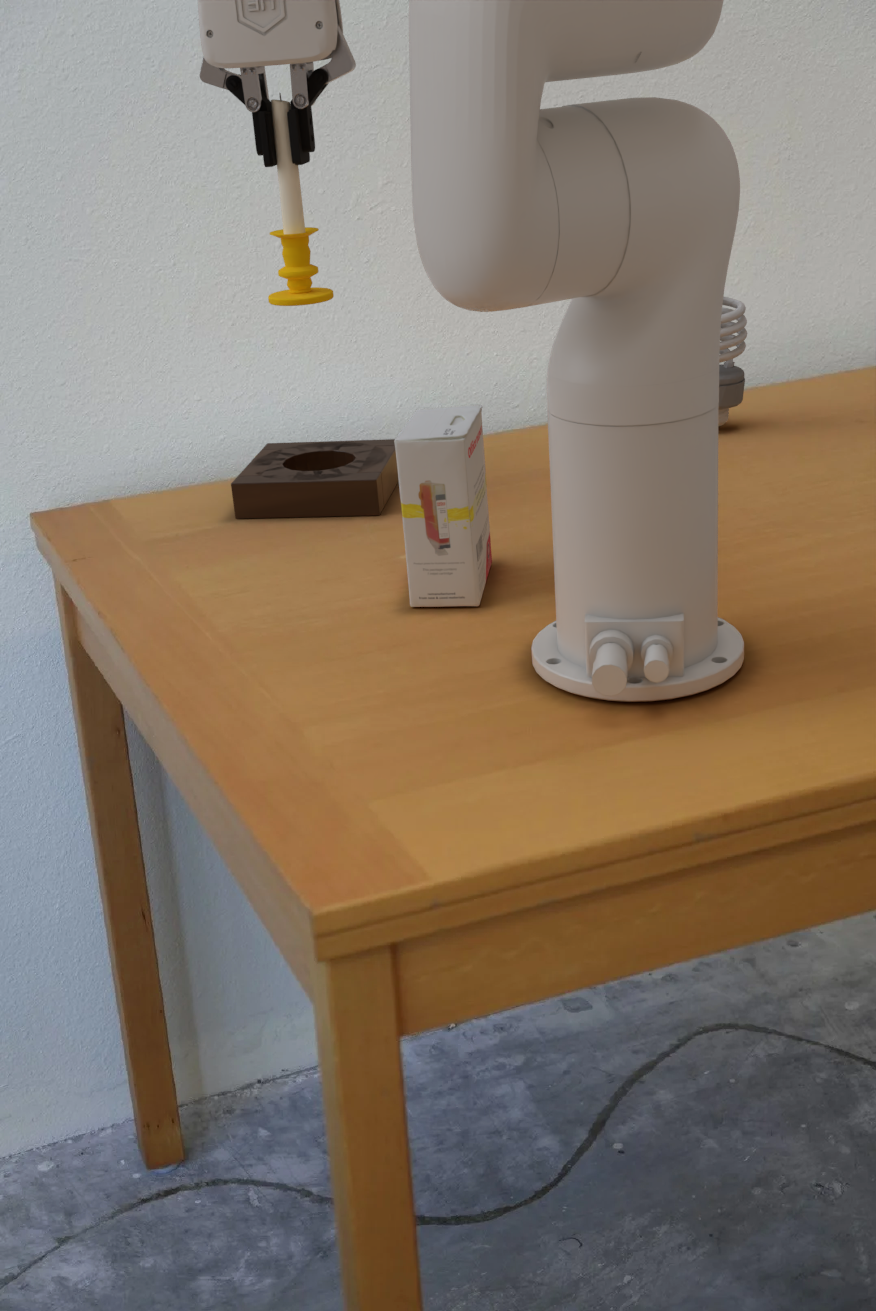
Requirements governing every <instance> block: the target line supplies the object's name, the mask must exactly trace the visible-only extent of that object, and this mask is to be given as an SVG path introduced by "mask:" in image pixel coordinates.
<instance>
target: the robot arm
mask: <svg viewBox="0 0 876 1311" xmlns="http://www.w3.org/2000/svg"><path fill="white" fill-rule="evenodd" d="M723 6H724V0H408V42H409V43H408V59H409V60H408V61H409V62H408V64H409V66H408V67H409V112H410V114H409V118H410V120H409V121H410V172H411V173H410V174H411V175H410V177H411V178H410V179H411V180H410V181H411V204H412V219H413V227H414V234H415V239H416V241H415V242H416V246H417V250H418V254H419V257H420V258H419V259H420V260H421V264H422V267H423V269H424V272H425V273H426V275H427V277H428V280H429V281H430V283H431V285H432V286H433V288H434V289H435V290H436V291H437V292H438V294H439V295H441V298H443V299H445V300H446V302H449V303H450V304H452V305H454V306H455V307H456V308H457V307H458V308H461V309H463V310H467V311H471V312H478V313H479V312H480V313H490V312H491V313H492V312H502V311H509V310H510V311H511V310H517V309H522V308H528V307H533V306H539V305H544V304H549V303H556V302H562V301H567V300H570V302H569V303H568V306H567V308H566V310H565V313H564V315H563V318H562V319H561V321H560V324H559V327H558V329H557V332H556V334H555V337H554V340H553V343H552V346H551V349H550V353H549V359H548V364H547V370H546V371H547V373H546V412H547V436H548V438H547V439H548V454H549V455H548V457H549V458H548V459H549V482H550V483H549V484H550V502H551V503H550V504H551V505H550V507H551V527H552V532H551V533H552V554H553V574H554V576H553V577H554V598H555V600H554V601H555V620H554V621H553V622H550V623H549V624H547V625H545V627H543V628H542V629H541V630H540V631H539V632H538V633H536V635H535V637H534V638H533V640H532V643H531V648H530V650H531V662H532V664H531V665H532V666H533V668H534V671H535V672H536V674H538V675H539V676H540V678H542V680H544V681H545V682H547V683H549V684H550V685H552V686H553V687H556V688H558V689H560V690H562V691H565V692H567V693H571V694H573V695H577V696H581V697H586V698H588V699H589V698H590V699H595V700H601V701H602V700H604V701H612V702H627V703H630V702H631V703H632V702H633V703H635V702H655V701H656V702H657V701H665V700H673V699H678V698H684V697H689V696H693V695H696V694H699V693H703V692H706V691H708V690H711V689H713V688H716V687H717V686H721V685H722V684H724V683H725V682H726V681H728V680H729V679H731V678H732V677H734V676H735V675H736V673H737V672H738V671H739V670H740V669H741V668H742V665H743V663H744V660H745V641H744V639H743V635H742V634H741V633H740V631H739V630H738V629H737V627H735V626H734V625H733V624H731V623H729V622H728V621H727V620H726V619H724V618H722V617H719V614H718V612H719V608H718V606H719V601H718V600H719V598H718V597H719V428H718V405H719V364H720V363H719V354H720V342H721V341H720V330H721V315H722V307H723V305H722V304H723V297H725V295H724V294H725V288H726V281H727V275H728V269H729V264H730V260H731V254H732V249H733V245H734V240H735V235H736V229H737V224H738V217H739V211H740V201H741V200H740V198H741V179H740V178H741V177H740V169H739V164H738V159H737V155H736V152H735V149H734V147H733V144H732V142H731V140H730V139H729V137H728V135H727V134H726V132H725V131H724V130H725V129H723V128H722V126H721V125H720V124H719V123H718V122H717V121H716V120H715V119H714V118H713V117H712V116H711V115H710V114H708V113H706V112H705V111H703V110H702V109H701V108H699V107H697V106H695V105H692V104H691V103H687V102H685V101H681V100H678V99H671V98H663V97H655V96H654V97H653V96H652V97H650V96H649V97H629V98H628V97H627V98H617V99H609V100H601V101H600V100H599V101H591V102H582V103H573V104H566V105H562V106H557V107H549V108H541V103H542V98H543V93H544V87H545V84H546V83H552V82H562V81H571V80H581V79H590V78H591V79H592V78H600V77H611V76H619V75H620V76H621V75H627V74H636V73H642V72H648V71H655V70H659V69H660V70H661V69H664V68H667V67H671V66H676V65H678V64H680V63H683V62H685V61H687V60H689V59H691V58H692V57H695V56H696V55H697V54H699V53H700V52H701V51H702V50H704V48H705V46H706V45H707V44H708V43H709V41H710V40H711V38H712V37H713V35H714V34H715V31H716V29H717V26H718V24H719V21H720V18H721V14H722V10H723ZM197 9H198V10H197V12H198V26H199V27H198V28H199V36H200V46H201V51H202V55H203V57H202V60H201V65H200V69H199V79H200V80H201V81H202V82H203V83H204V84H207V85H210V86H213V87H216V88H220V89H223V90H227V91H229V92H230V93H231V94H232V95H233V96H234V97H235V98H236V99H237V100H239V101H240V102H241V103H242V104H243V105H244V106H245V108H246V110H247V111H248V112H251V117H252V118H251V119H252V126H253V135H254V143H255V151H256V154H257V156H259V157H261V156H263V157H262V159H263V160H262V161H263V165H264V168H272V167H275V166H277V158H276V149H275V139H274V130H273V120H272V104H271V99H270V96H269V88H268V81H267V74H266V67H270V66H284V65H285V66H286V65H289V72H290V85H291V87H290V88H291V98H292V99H291V100H290V104H291V110H289V111H288V112H287V119H288V128H289V137H290V147H291V156H292V163H293V164H295V165H298V166H303V165H305V164H308V163H310V161H311V154H310V153H314V152H315V151H316V139H315V130H314V120H313V109H312V106H314V105H315V104H316V101H317V100H318V98H320V96H321V95H322V93H323V91H324V90H325V89H326V88H327V86H328V85H329V84H330V83H331V82H332V83H333V82H334V81H336V80H338V79H340V78H341V77H344V76H346V75H348V74H349V73H352V72H353V71H354V70H356V67H357V63H356V60H355V58H354V56H353V53H352V51H351V49H350V47H349V44H348V42H347V40H346V37H345V35H344V25H343V16H342V9H341V3H340V0H197ZM329 59H330V61H329V62H327V63H325V64H324V65H322V66H320V67H319V68H315V67H314V63H315V62H319V61H325V60H329ZM228 69H239V70H240V73H239V74H238V73H235V72H232V71H230V70H228Z"/></svg>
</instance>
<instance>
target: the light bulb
mask: <svg viewBox="0 0 876 1311" xmlns="http://www.w3.org/2000/svg"><path fill="white" fill-rule="evenodd" d="M729 307H731V308H729ZM732 308H734V309H732ZM746 308H747V307H746V305H745V303H744V302H743V301H741V300H738V299H735V298H733V297H728V296H723V304H722V315H721V330H720V354H719V405H718V429H719V428H720V427H721V426H723V425H725V424H726V423H727V422H728V421H729V414H730V409H731V408H735V407H738V406H740V405H741V404H742V402H743V401H744V393H745V392H744V391H745V384H746V378H745V371H744V370H743V368H742V367H739V366H737V365H735V364H736V362H735V361H734V359H735V358H738V357H739V356H741V355H742V354H744V352H745V349H746V347H747V344H746V342H745V340H746V339H747V337H748V330H747V329H746V328H745V327H746V326H747V323H748V320H747V317H746V315H745V313H746V311H747V310H746ZM735 320H736V322H734V321H735ZM735 334H737V335H735ZM733 347H736V348H733ZM730 348H733V349H732V350H731V349H730ZM721 363H723V364H721Z"/></svg>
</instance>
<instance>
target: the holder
mask: <svg viewBox="0 0 876 1311" xmlns="http://www.w3.org/2000/svg"><path fill="white" fill-rule="evenodd" d="M395 439H396V438H392V439H391V438H390V439H389V438H388V439H387V438H386V439H361V440H360V439H357V440H333V441H332V440H328V441H327V440H326V441H297V442H296V441H295V442H294V441H293V442H269V443H266V444H265V445H264V446H263V447H262V449H261V450H260V451H259V452H258V453H257V454H256V455H255V456H254V457H253V458H252V460H251V461H250V462H249V463H248V464H247V465H246V466H245V468H244V469H243V470H242V471H241V472H240V473H239V474H238V475H237V476H236V478H234V480H233V481H232V482H231V483H230V488H231V495H232V503H233V511H234V512H233V513H234V518H235V519H237V520H238V519H239V520H240V519H241V520H243V519H279V518H280V519H281V518H282V519H283V518H287V519H288V518H320V517H323V518H324V517H326V518H327V517H329V518H330V517H364V516H365V517H366V516H380V515H381V513H383V510H384V508H385V506H386V504H387V502H388V501H389V499H390V497H391V495H392V494H393V492H394V490H395V489H396V488H397V487H396V486H397V485H398V484H399V479H398V469H397V460H396V450H395V443H394V440H395Z"/></svg>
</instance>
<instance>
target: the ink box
mask: <svg viewBox="0 0 876 1311" xmlns="http://www.w3.org/2000/svg"><path fill="white" fill-rule="evenodd" d="M482 411H483V405H481V404H478V403H477V404H464V405H452V406H442V407H441V406H440V407H430V408H416V409H415V411H414V413H413V414H412V415H411V416H410V417H409V420H408V421H407V422H406V424H404V426H403V427H402V429H401V430H400V432H399V433H398V435H396V437H395V438H394V439H395V440H394V443H395V450H396V460H397V469H398V479H399V481H398V487H399V488H398V489H399V498H400V506H401V517H402V518H401V520H402V530H403V541H404V550H405V561H406V563H405V564H406V574H407V575H406V576H407V584H408V597H409V606H410V607H411V608H420V607H421V608H423V607H424V608H434V607H435V608H436V607H437V608H439V607H440V608H441V607H442V608H443V607H479V606H480V604H481V601H482V598H483V594H484V591H485V587H486V584H487V581H488V576H489V572H490V570H491V566H492V563H493V555H492V545H491V544H492V541H491V530H490V529H491V526H490V515H489V514H490V513H489V500H488V499H489V498H488V486H487V485H488V484H487V472H486V470H487V469H486V457H485V441H484V430H483V429H484V428H483V416H482Z"/></svg>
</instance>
